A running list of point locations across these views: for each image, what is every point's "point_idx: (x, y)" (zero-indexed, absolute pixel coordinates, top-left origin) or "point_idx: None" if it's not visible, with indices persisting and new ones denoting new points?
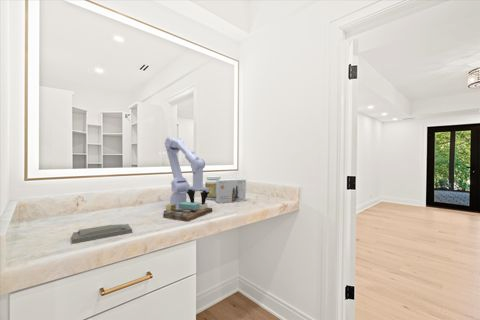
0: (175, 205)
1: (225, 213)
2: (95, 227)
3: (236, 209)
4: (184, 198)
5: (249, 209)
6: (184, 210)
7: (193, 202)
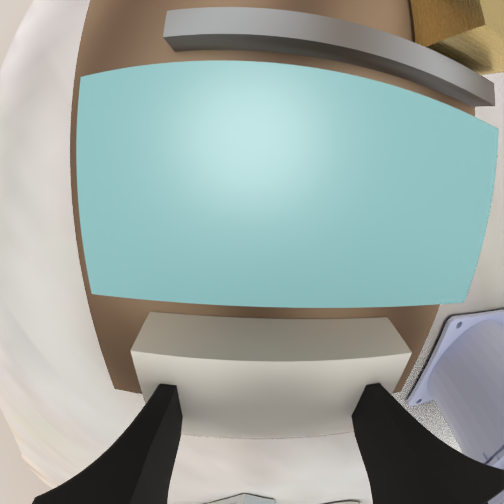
0: (469, 22)
1: (20, 335)
2: None
3: (58, 422)
4: (474, 419)
5: (25, 421)
6: (270, 11)
7: (354, 412)
